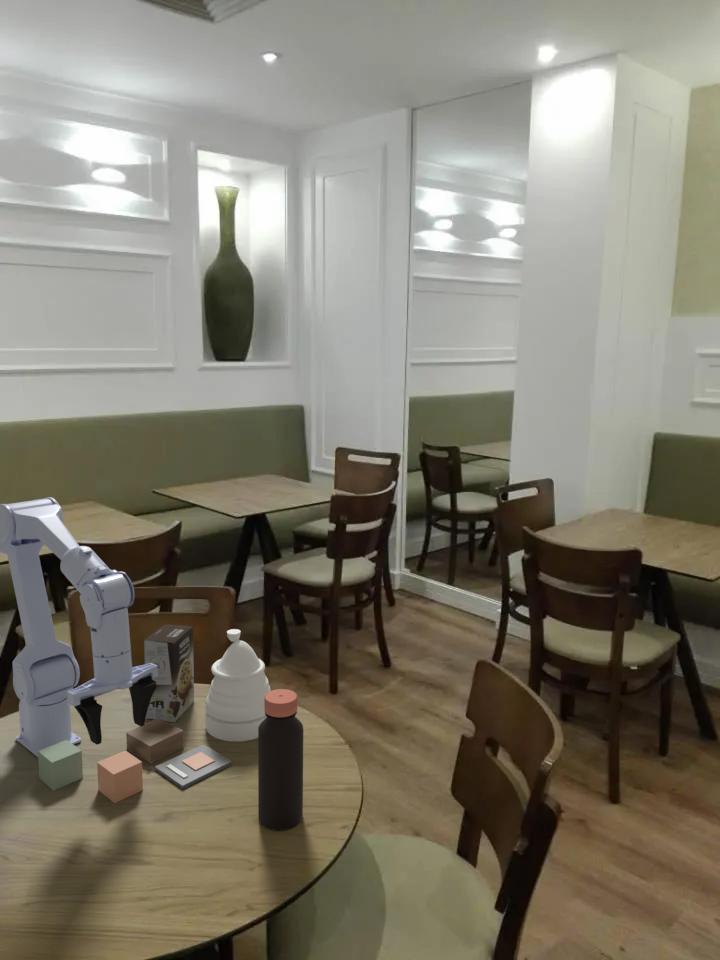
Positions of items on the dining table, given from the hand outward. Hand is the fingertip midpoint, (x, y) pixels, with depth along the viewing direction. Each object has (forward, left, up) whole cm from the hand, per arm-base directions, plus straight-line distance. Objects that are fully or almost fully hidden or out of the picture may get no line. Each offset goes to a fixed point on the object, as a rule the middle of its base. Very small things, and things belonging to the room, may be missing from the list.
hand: (118, 733), depth 119 cm
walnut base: (-7, +11, -10) cm, 17 cm away
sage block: (-10, -5, -10) cm, 15 cm away
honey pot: (-3, +27, -10) cm, 29 cm away
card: (+3, +12, -10) cm, 16 cm away
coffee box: (-17, +21, -10) cm, 29 cm away
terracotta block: (0, 0, -10) cm, 10 cm away
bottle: (+24, +13, -10) cm, 29 cm away
